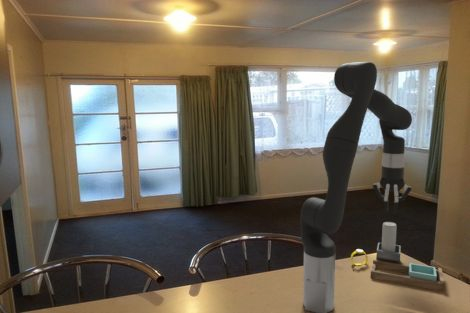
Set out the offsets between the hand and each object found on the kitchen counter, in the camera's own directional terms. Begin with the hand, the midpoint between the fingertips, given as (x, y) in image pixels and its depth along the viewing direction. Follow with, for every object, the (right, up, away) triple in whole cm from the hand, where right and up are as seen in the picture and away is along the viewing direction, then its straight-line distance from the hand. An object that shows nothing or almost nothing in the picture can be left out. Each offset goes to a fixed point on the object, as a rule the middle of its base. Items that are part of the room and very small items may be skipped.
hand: (390, 210), depth 131 cm
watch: (-11, -21, +3) cm, 24 cm away
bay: (+1, -22, -8) cm, 24 cm away
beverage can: (0, -17, +3) cm, 17 cm away
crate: (+6, -22, -11) cm, 25 cm away
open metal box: (0, -21, +3) cm, 21 cm away
